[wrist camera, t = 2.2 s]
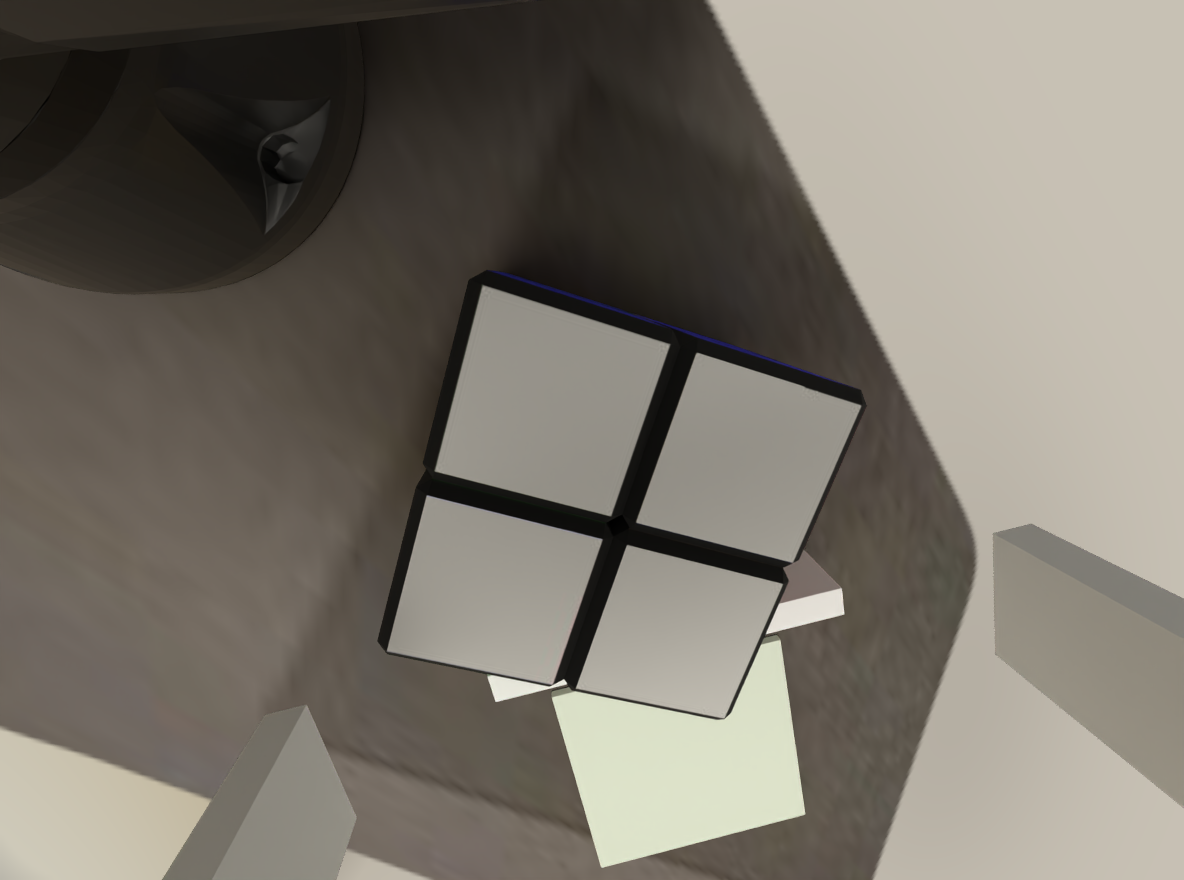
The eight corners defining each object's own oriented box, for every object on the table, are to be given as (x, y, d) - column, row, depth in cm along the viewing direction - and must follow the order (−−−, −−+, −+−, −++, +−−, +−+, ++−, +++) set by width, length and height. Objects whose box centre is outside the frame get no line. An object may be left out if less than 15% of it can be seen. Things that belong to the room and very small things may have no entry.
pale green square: (551, 691, 27) (551, 697, 26) (776, 634, 27) (780, 639, 27) (600, 860, 30) (601, 867, 30) (801, 807, 30) (805, 814, 30)
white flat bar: (501, 638, 26) (495, 701, 22) (494, 616, 26) (487, 676, 22) (799, 564, 26) (844, 614, 22) (796, 542, 26) (841, 588, 22)
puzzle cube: (738, 346, 23) (880, 395, 14) (658, 561, 26) (731, 731, 16) (498, 269, 22) (468, 264, 12) (436, 507, 24) (370, 661, 14)
